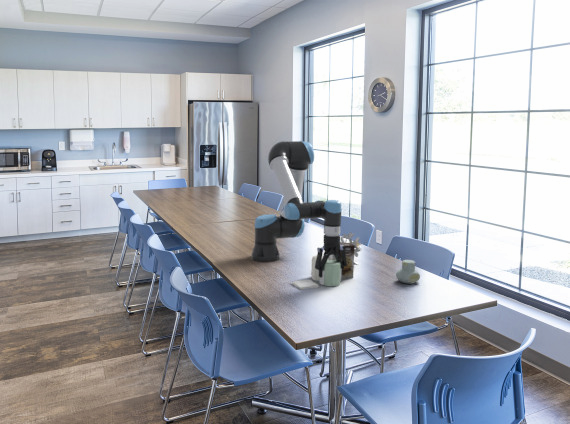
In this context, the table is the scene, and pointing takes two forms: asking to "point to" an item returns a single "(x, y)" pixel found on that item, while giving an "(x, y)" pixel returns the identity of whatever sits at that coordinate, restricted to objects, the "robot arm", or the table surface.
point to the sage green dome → (332, 273)
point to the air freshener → (408, 272)
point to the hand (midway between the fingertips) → (330, 282)
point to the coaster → (305, 284)
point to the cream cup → (314, 271)
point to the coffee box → (347, 260)
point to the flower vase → (351, 243)
